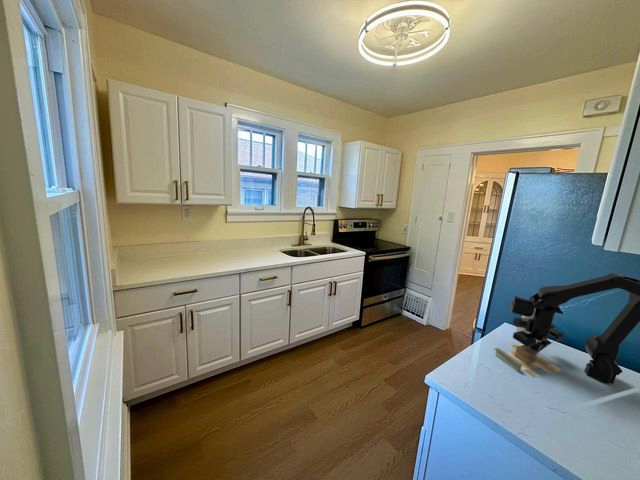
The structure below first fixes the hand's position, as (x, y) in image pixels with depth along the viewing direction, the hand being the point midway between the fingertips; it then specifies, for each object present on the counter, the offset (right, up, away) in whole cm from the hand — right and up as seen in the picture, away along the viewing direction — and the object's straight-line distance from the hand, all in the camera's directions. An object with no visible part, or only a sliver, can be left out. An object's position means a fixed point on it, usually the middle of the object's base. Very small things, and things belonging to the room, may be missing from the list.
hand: (533, 354), depth 102 cm
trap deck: (-4, -2, -1) cm, 5 cm away
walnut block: (-4, -1, -1) cm, 4 cm away
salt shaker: (+10, +1, +18) cm, 21 cm away
